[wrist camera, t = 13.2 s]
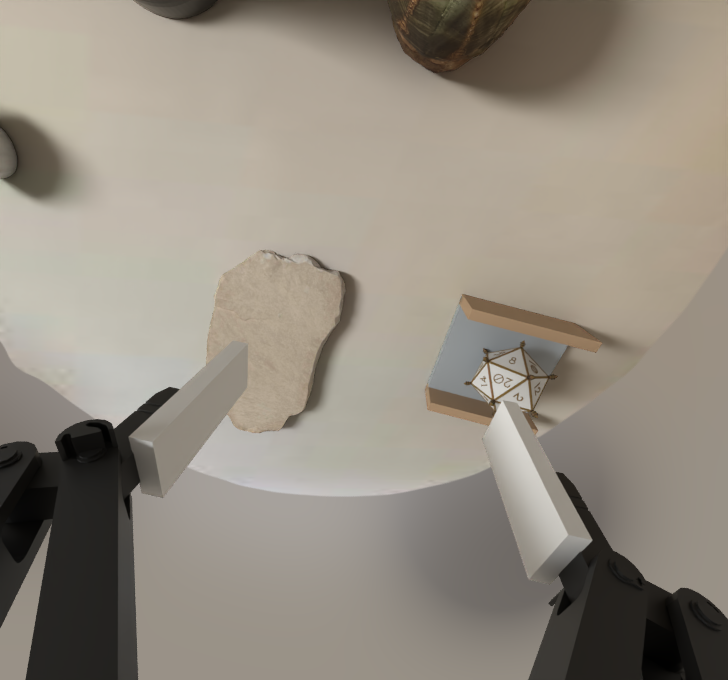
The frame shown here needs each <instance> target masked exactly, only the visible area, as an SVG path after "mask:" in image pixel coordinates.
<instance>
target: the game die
mask: <svg viewBox="0 0 728 680" xmlns="http://www.w3.org/2000/svg"><path fill="white" fill-rule="evenodd" d="M520 343H521V344H520V347H518V348H513V349H507V350H501V351H496V352H490V353H488V351H487V349H484V348H483V352H484V354H486V355H485V357H483V361H482V363H481V364H480V366H479V368H478V370H477V372H476V374H475V375H474V377H473V379H472V381H471V382H469V381H468V382H467V381H466V382H465V383H464V384H465V385H472V386H473V387H474V388H475V389H476V390H477V392H478V393H479V394H480V395H481V396H482V397H483V399H484V400H485V401H486V402H487V403H488V404H489V405H490V407H491V408H492V409H493V410H494V412H493V413H492V416H493V417H494V415H495V413H496V411H497V409H498V407H499V405H500V404H501V402H502V400H506V401H510V402H515V403H518V405H519V407H520V409H521V411H522V412H531V415H533V417H536V418H538V414H537V413H536V412H535V411H534V408H535V406H536V404H537V402H538V400H539V398H540V395H541V393H542V391H543V389H544V387H545V385H546V383H547V381H548V379H551V380H552V379H555V378H557V377H558V376H556V375H554V374H553V375H549V376H548V375H547V374H546V373H545V372H544V371H543V370H542V369H541V367H540V366H539V365H538V364H537V363H536V362H535V361H534V360H533V359H532V358H531V357H530V355H529V354H528V353H527V352H526V351H525V350H524V349H523V347H524V346H525V345H526V344H525V340H524V341H522V342H520Z"/></svg>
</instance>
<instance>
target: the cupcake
mask: <svg viewBox="0 0 728 680" xmlns="http://www.w3.org/2000/svg"><path fill="white" fill-rule="evenodd" d="M16 168H17V155H16V151H15V149H14V146H13V144H12V142H11V140H10V138H9V137H8V136H7V134H6V133H5V132H4V131H3V130H2V128H1V127H0V179H3V178H7V177H9V176H11V175H12V174H13V173H14V172H15V170H16Z"/></svg>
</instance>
